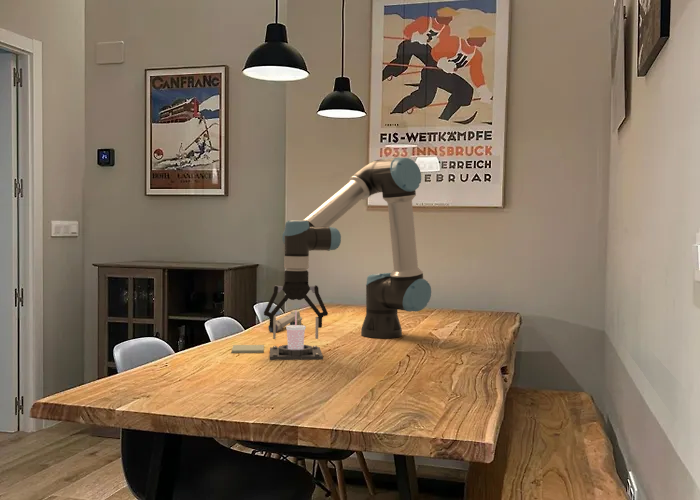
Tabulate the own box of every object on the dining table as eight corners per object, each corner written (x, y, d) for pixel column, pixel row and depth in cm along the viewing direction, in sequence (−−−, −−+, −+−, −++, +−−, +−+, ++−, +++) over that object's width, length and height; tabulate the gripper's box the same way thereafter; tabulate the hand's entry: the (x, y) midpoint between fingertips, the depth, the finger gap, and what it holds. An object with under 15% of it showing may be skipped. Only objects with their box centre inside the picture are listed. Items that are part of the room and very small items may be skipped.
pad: (264, 347, 230) (264, 344, 230) (263, 352, 220) (263, 350, 220) (233, 347, 229) (233, 345, 229) (231, 353, 219) (231, 350, 219)
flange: (319, 350, 226) (319, 342, 226) (322, 359, 210) (322, 351, 210) (269, 350, 224) (270, 343, 224) (269, 359, 208) (269, 352, 208)
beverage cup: (290, 357, 213) (290, 311, 212) (282, 354, 218) (283, 309, 218) (308, 355, 216) (308, 310, 215) (300, 352, 221) (301, 308, 221)
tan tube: (266, 322, 263) (291, 306, 286) (267, 339, 264) (292, 322, 287) (279, 323, 261) (303, 307, 285) (279, 340, 262) (304, 322, 286)
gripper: (334, 269, 221) (333, 336, 222) (256, 268, 219) (256, 336, 219) (336, 270, 214) (336, 340, 214) (256, 270, 211) (255, 340, 212)
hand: (295, 338), depth 217 cm, fingers open, 12 cm apart
